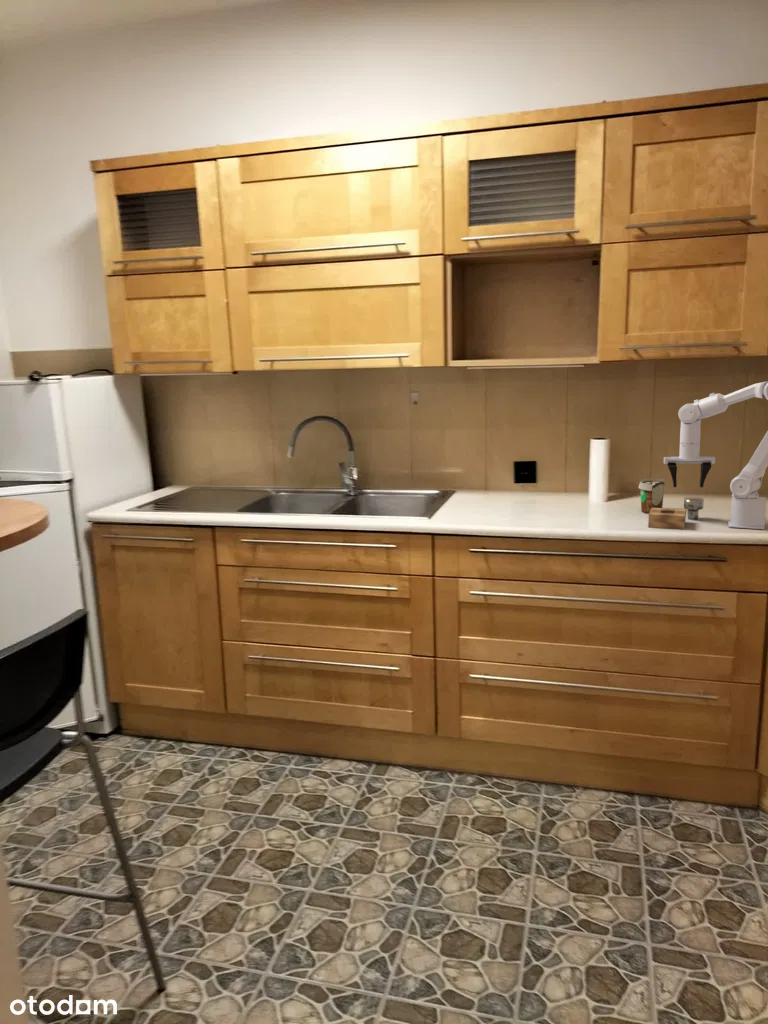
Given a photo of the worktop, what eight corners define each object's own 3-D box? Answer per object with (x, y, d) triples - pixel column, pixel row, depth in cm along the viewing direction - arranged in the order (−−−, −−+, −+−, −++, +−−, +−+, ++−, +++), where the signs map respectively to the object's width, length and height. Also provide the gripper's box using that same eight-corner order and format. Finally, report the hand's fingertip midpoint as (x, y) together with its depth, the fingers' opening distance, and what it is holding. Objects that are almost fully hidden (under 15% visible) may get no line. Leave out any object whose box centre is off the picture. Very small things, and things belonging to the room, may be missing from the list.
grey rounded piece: (702, 517, 233) (703, 497, 231) (702, 521, 228) (703, 500, 226) (683, 516, 235) (684, 496, 233) (682, 520, 230) (683, 499, 228)
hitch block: (685, 521, 228) (686, 509, 227) (683, 529, 219) (684, 516, 218) (650, 520, 232) (651, 507, 231) (648, 527, 223) (648, 514, 222)
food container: (645, 506, 251) (646, 477, 249) (663, 508, 248) (665, 478, 245) (631, 513, 242) (632, 483, 240) (650, 515, 238) (651, 484, 236)
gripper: (713, 441, 228) (711, 484, 231) (663, 441, 232) (661, 484, 235) (717, 444, 221) (714, 488, 224) (665, 444, 225) (664, 488, 228)
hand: (688, 486), depth 229 cm, fingers open, 7 cm apart
